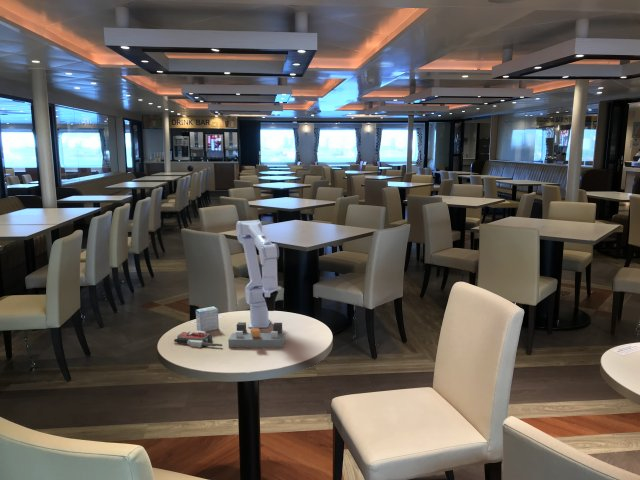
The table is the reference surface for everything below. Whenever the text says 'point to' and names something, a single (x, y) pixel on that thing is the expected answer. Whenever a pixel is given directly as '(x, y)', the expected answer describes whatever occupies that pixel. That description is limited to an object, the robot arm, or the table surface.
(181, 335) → the walkie-talkie
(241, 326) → the plug
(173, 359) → the table surface
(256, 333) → the orange rectangular block
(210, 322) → the medicine box
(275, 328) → the plug
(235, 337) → the power strip
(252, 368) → the table surface
